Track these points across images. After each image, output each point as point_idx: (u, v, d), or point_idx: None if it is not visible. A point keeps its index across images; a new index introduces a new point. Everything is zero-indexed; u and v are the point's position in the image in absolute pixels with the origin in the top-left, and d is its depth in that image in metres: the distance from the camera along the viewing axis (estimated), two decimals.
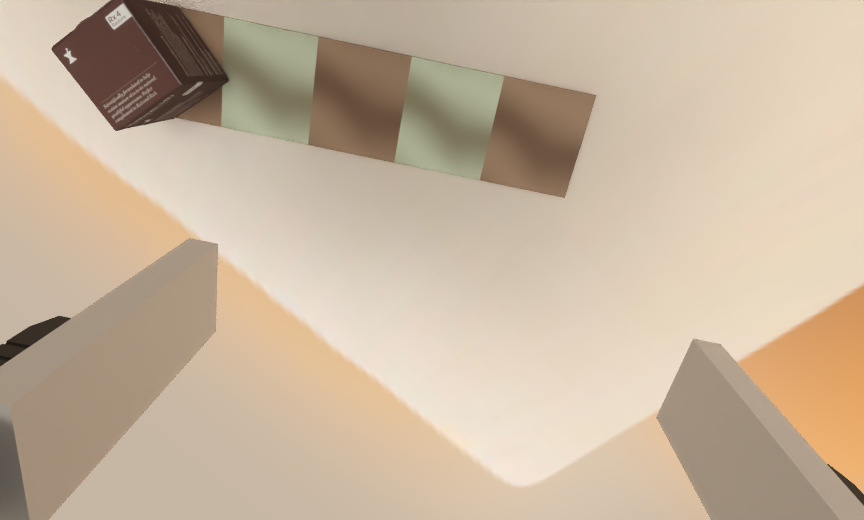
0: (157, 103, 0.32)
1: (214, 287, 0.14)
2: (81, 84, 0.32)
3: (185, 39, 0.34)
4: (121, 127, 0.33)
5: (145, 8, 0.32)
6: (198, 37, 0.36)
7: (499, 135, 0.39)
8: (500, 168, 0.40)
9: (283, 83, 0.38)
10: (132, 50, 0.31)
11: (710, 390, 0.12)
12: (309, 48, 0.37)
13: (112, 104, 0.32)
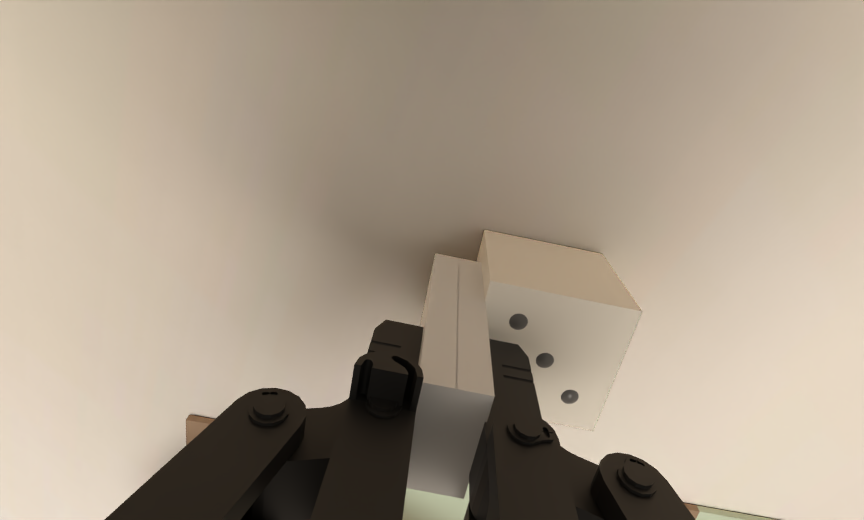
0: None
1: None
2: None
3: None
4: None
5: None
6: None
7: None
8: None
9: None
10: None
11: None
12: None
13: None
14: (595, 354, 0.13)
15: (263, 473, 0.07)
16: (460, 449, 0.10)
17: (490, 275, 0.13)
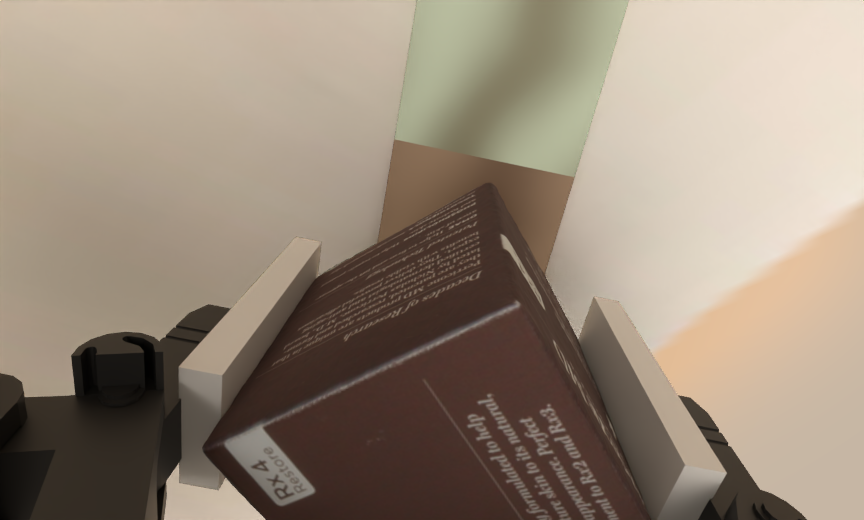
0: (586, 409, 0.08)
1: None
2: None
3: (375, 270, 0.12)
4: None
5: (271, 365, 0.10)
6: (381, 243, 0.14)
7: None
8: None
9: (505, 41, 0.20)
10: (384, 452, 0.08)
11: (601, 339, 0.13)
12: None
13: None
14: None
15: None
16: None
17: None
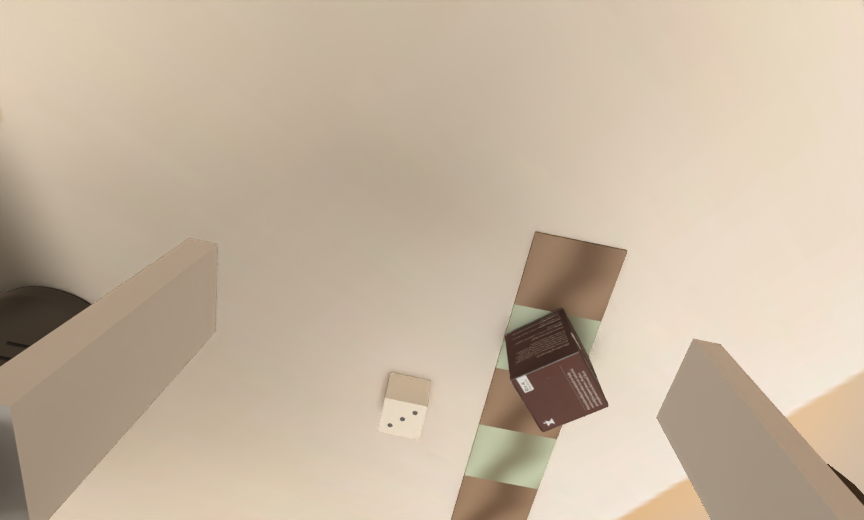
0: (590, 371, 0.39)
1: (214, 287, 0.14)
2: (570, 420, 0.41)
3: (534, 337, 0.43)
4: (606, 401, 0.40)
5: (515, 362, 0.41)
6: (528, 326, 0.45)
7: (563, 306, 0.45)
8: (592, 305, 0.45)
9: (510, 448, 0.51)
10: (549, 380, 0.39)
11: (710, 390, 0.12)
12: (487, 430, 0.51)
13: (587, 403, 0.40)
14: (399, 407, 0.46)
15: None
16: None
17: (378, 428, 0.47)
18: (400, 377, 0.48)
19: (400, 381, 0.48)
